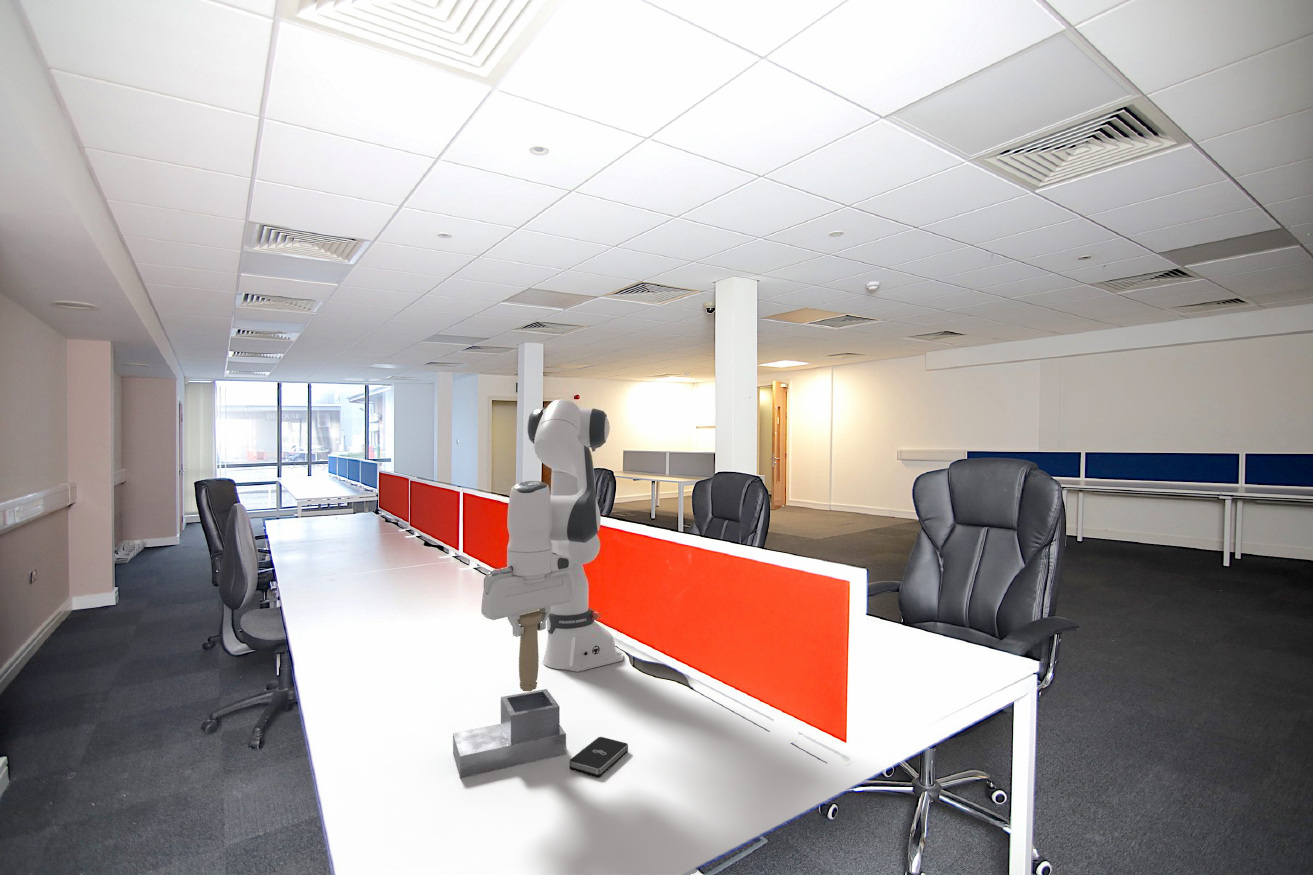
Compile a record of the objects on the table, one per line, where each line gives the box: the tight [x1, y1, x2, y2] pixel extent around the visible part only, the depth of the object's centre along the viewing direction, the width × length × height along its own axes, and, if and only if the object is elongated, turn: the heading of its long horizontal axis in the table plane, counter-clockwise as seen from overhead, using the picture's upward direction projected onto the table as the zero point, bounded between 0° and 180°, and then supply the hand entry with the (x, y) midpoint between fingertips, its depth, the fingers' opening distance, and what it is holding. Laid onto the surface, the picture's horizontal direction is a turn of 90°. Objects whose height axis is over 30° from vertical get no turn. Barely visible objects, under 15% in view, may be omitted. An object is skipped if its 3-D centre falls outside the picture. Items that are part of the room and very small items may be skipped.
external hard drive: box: [569, 736, 629, 779], centre depth 118 cm, size 7×11×2 cm, turn 153°
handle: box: [517, 609, 542, 692], centre depth 123 cm, size 5×6×15 cm
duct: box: [452, 688, 567, 779], centre depth 121 cm, size 20×10×10 cm, turn 115°
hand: (529, 632), depth 123 cm, fingers closed on handle, 4 cm apart
